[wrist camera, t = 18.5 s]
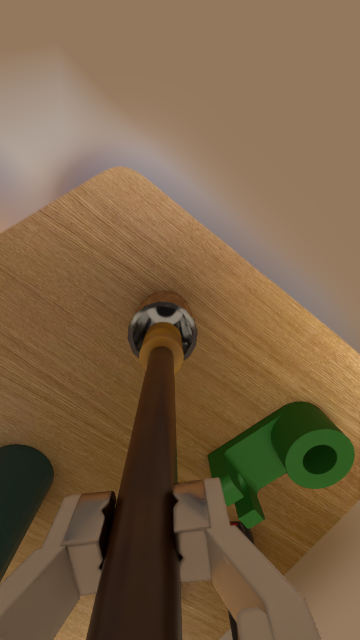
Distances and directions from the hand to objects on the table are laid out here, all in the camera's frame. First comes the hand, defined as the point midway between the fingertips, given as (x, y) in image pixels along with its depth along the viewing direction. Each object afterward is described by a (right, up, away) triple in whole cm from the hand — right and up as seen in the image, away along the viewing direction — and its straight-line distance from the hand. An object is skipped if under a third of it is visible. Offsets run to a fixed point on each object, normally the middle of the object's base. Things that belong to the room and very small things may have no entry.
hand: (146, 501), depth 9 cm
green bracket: (+15, -13, +33) cm, 38 cm away
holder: (-1, +6, +27) cm, 28 cm away
